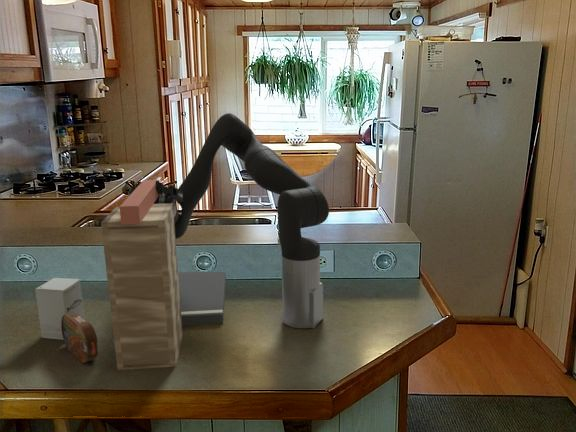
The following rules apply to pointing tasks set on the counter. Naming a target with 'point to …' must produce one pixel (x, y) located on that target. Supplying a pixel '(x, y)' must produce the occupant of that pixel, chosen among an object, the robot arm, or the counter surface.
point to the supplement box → (58, 304)
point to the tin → (79, 337)
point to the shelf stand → (143, 288)
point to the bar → (139, 203)
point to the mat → (202, 297)
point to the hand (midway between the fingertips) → (148, 185)
